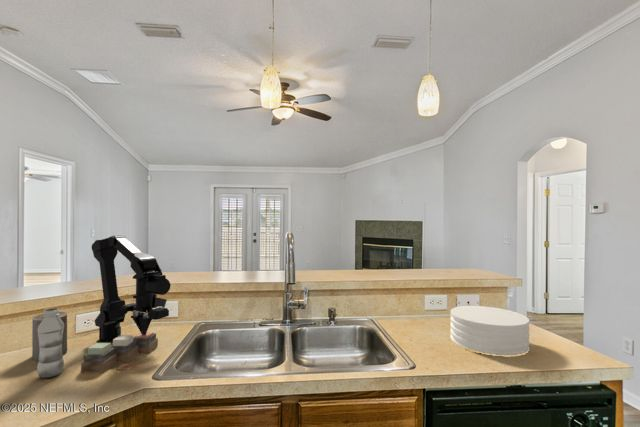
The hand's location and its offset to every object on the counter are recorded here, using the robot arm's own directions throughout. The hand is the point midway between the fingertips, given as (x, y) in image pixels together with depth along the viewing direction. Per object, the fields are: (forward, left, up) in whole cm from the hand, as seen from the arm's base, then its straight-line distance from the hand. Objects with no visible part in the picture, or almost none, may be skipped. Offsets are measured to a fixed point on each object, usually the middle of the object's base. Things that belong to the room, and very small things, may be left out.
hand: (143, 334), depth 128 cm
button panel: (-3, -8, -6) cm, 10 cm away
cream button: (-3, -8, -1) cm, 8 cm away
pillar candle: (-30, -5, -6) cm, 31 cm away
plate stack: (+131, +8, -6) cm, 131 cm away
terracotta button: (0, 0, -2) cm, 2 cm away
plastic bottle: (-18, -21, -6) cm, 28 cm away
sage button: (-7, -15, -1) cm, 17 cm away
